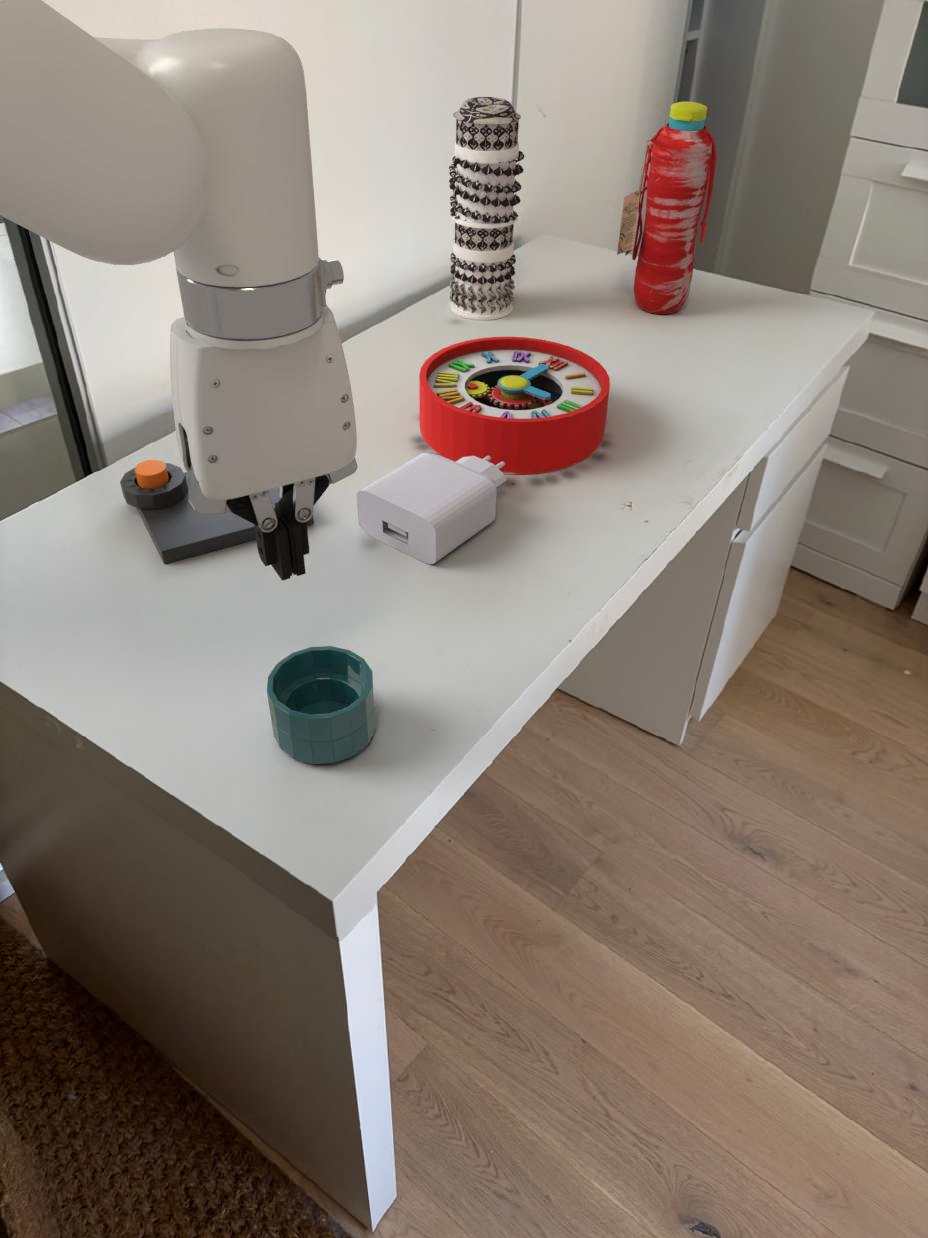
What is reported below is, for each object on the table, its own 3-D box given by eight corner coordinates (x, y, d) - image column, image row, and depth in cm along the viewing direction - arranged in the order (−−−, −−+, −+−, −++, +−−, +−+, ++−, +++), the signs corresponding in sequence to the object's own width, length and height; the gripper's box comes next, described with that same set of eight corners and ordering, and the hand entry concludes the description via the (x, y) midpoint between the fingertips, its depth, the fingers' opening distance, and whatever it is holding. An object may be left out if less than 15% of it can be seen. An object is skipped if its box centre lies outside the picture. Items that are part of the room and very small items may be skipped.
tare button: (142, 492, 88) (138, 478, 87) (134, 478, 90) (131, 463, 89) (172, 485, 90) (169, 470, 89) (164, 471, 91) (161, 456, 90)
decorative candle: (524, 318, 127) (537, 108, 111) (455, 323, 126) (458, 111, 110) (506, 292, 134) (515, 91, 118) (441, 297, 132) (441, 93, 116)
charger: (533, 497, 94) (435, 568, 85) (459, 466, 98) (358, 530, 89) (536, 455, 91) (435, 524, 82) (460, 424, 95) (355, 486, 86)
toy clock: (379, 379, 100) (497, 321, 112) (381, 429, 104) (495, 368, 116) (535, 443, 90) (646, 372, 102) (531, 496, 94) (639, 422, 106)
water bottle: (596, 306, 131) (618, 101, 115) (617, 287, 137) (641, 89, 121) (681, 324, 127) (717, 114, 111) (699, 304, 132) (736, 101, 116)
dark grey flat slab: (154, 567, 84) (148, 538, 82) (121, 498, 92) (114, 470, 91) (314, 524, 90) (311, 496, 88) (269, 462, 98) (266, 436, 96)
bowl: (296, 782, 66) (289, 732, 63) (260, 715, 71) (252, 665, 68) (391, 747, 69) (389, 696, 65) (351, 684, 73) (347, 634, 70)
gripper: (349, 253, 58) (363, 509, 70) (95, 296, 52) (158, 568, 64) (406, 296, 53) (411, 564, 65) (133, 349, 47) (193, 633, 59)
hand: (285, 566), depth 64 cm, fingers closed
